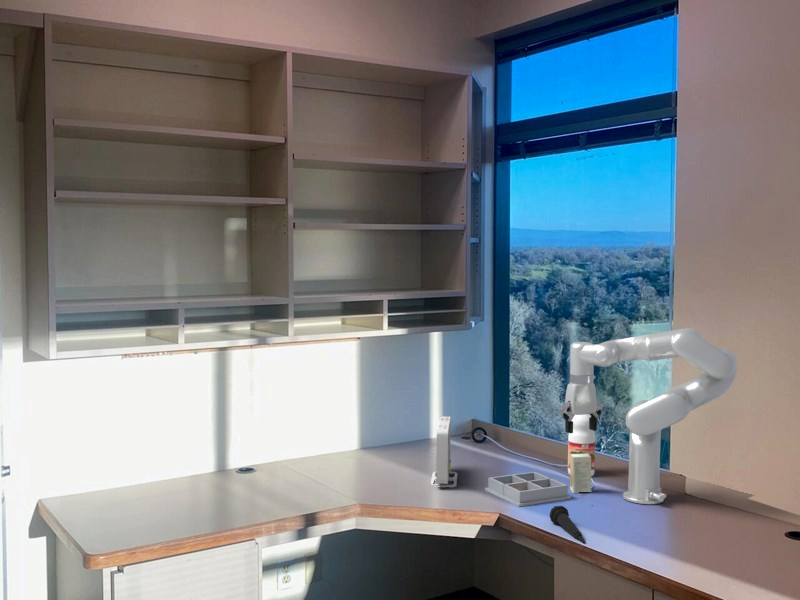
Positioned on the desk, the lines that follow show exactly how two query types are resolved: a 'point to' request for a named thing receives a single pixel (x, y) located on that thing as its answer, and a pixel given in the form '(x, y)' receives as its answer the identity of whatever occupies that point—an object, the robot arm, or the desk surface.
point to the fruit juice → (582, 440)
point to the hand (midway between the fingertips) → (581, 431)
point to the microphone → (565, 521)
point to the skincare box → (580, 473)
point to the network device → (443, 454)
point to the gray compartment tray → (527, 489)
